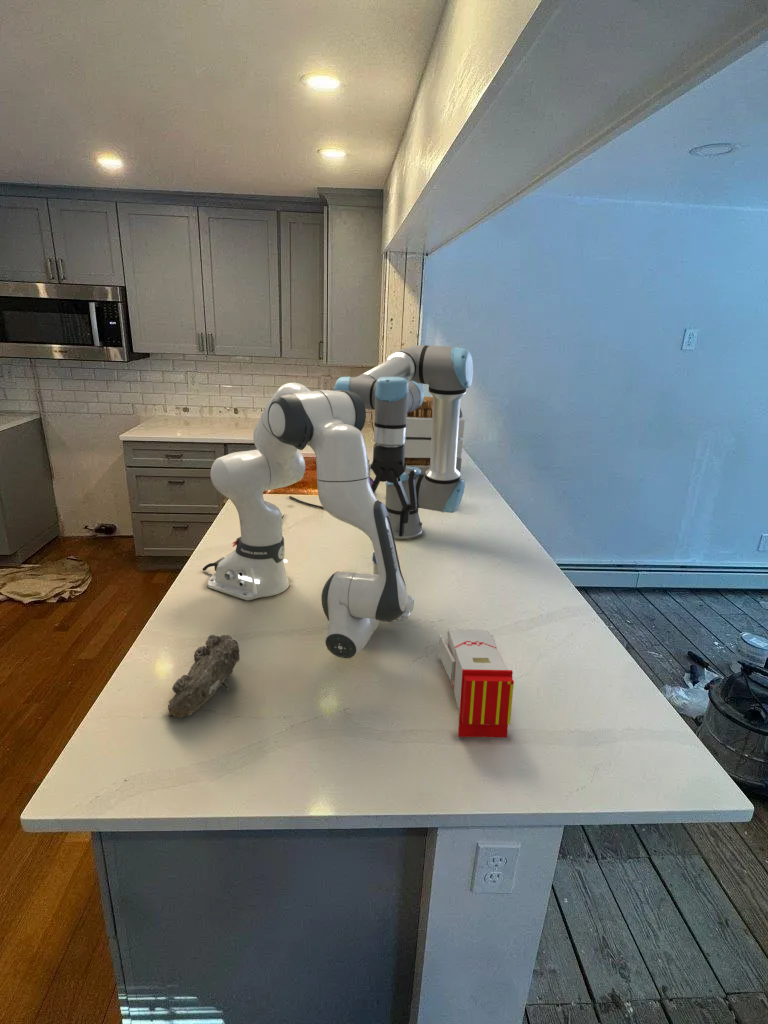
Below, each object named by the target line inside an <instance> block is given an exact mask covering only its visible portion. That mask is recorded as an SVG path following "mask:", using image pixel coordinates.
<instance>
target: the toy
mask: <svg viewBox="0 0 768 1024" xmlns="http://www.w3.org/2000/svg"><path fill="white" fill-rule="evenodd" d="M446 640H447V643H446V641H445V639H444V636H443V635H442V634H439V637H438V646H437V656H438V657H439V659H440V661H441V663H442V666H443V668H444V670H445V672H446V674H447V677H448V679H449V681H450V684H451V687H452V690H453V693H454V697H455V701H456V705H457V708H458V711H459V714H458V715H459V716H458V730H457V731H458V732H457V737H458V738H508V731H509V726H510V725H511V717H512V707H513V697H514V696H513V695H514V684H515V680H514V679H513V673H514V671H513V670H512V669H508V667H507V665H506V662H505V661H504V659H503V658H502V655H501V653H500V651H499V649H498V647H497V643H496V639H495V637H494V635H493V634H491V632H490V631H489V629H467V628H466V629H465V628H463V629H461V628H460V629H459V628H448V630H447V639H446Z"/></svg>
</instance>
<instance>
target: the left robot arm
mask: <svg viewBox="0 0 768 1024" xmlns="http://www.w3.org/2000/svg"><path fill="white" fill-rule="evenodd" d="M366 410H367V409H365V406H364V403H363V401H362V399H361V398H360V397H359V396H358V395H357V394H356V393H353V392H350V391H345V390H338V391H334V390H332V389H316V390H310V389H309V387H307V386H306V385H304V384H302V383H299V382H287V383H284V384H282V385H281V386H280V387H279V388H278V389H277V390H276V391H275V392H274V394H273V395H272V396H271V397H270V399H269V401H268V402H267V404H266V405H265V407H264V409H263V412H262V413H261V415H260V417H259V419H258V422H257V423H256V426H255V428H254V430H253V436H252V438H253V439H252V440H253V443H254V447H255V449H249V450H242V451H236V452H235V451H234V452H231V453H228V454H226V455H223V456H219V457H217V458H215V460H214V461H213V463H212V465H211V468H210V481H211V483H212V486H213V487H214V489H215V490H216V491H217V493H220V494H221V495H223V496H224V497H226V498H227V499H228V500H230V501H231V503H232V504H233V505H234V507H235V510H236V511H237V514H238V519H239V529H240V536H239V537H237V538H236V539H235V541H233V542H232V548H235V549H234V550H232V551H231V552H230V553H228V554H227V555H225V556H224V557H221V558H219V559H217V560H216V561H214V562H210V563H208V564H206V565H205V566H203V568H202V571H203V572H205V571H206V570H207V569H209V568H211V567H214V572H215V573H213V574H212V575H211V576H210V577H209V578H208V580H207V587H208V588H209V589H211V590H214V591H217V592H221V593H223V594H227V595H230V596H232V597H235V598H238V599H240V600H241V599H242V600H243V601H244V600H245V601H253V600H255V599H258V598H268V597H272V596H276V595H279V594H281V593H283V592H285V591H286V590H287V589H288V588H289V586H290V581H289V578H288V575H287V571H286V570H287V569H286V566H285V563H286V564H287V563H288V560H287V559H284V558H285V538H284V536H283V518H282V516H283V514H282V512H281V509H280V508H279V507H278V506H277V505H276V504H274V503H271V502H269V501H266V500H265V499H264V492H266V491H272V490H276V489H282V488H287V487H289V486H291V485H294V484H296V483H298V482H300V481H302V480H303V478H304V476H305V473H306V461H305V458H304V456H303V454H302V452H301V451H303V450H304V449H305V448H306V447H307V446H308V447H310V449H312V451H313V452H314V456H315V461H316V485H317V495H318V499H319V502H320V506H323V508H324V509H323V508H322V509H323V510H325V511H326V512H327V513H328V514H329V515H330V516H332V517H333V518H335V520H338V521H340V522H343V523H345V524H347V525H350V526H352V527H354V528H356V529H358V530H360V531H361V532H363V533H364V534H365V535H366V536H367V537H368V538H369V539H370V542H371V544H372V548H373V553H375V558H376V563H377V567H378V572H379V574H373V573H364V572H363V573H361V572H353V571H336V572H334V573H333V574H332V575H330V577H329V578H328V579H327V581H326V582H325V583H324V586H323V588H322V591H321V607H322V610H323V613H324V615H325V617H326V619H327V621H328V627H327V630H326V633H325V637H324V644H325V647H326V649H327V650H328V652H329V653H330V654H331V655H333V656H334V657H337V658H340V659H352V658H354V657H357V655H359V654H360V653H361V652H362V651H363V650H364V648H365V647H366V646H367V644H368V643H369V641H370V639H371V637H372V635H373V633H374V632H375V631H376V630H377V628H378V626H379V625H380V623H381V622H386V623H392V622H394V621H397V622H398V621H405V620H407V619H408V618H409V617H410V615H411V613H412V612H413V610H414V606H415V599H414V597H413V596H412V595H408V589H407V584H406V582H405V578H404V576H403V573H402V569H401V565H400V559H399V555H398V550H397V546H396V540H395V539H394V535H393V531H392V526H391V522H390V518H389V515H388V512H387V509H386V507H385V503H384V502H382V501H380V500H378V498H377V495H376V494H375V493H373V491H372V488H371V485H370V478H369V477H370V476H369V464H370V463H369V464H368V460H369V458H368V451H367V446H366V442H365V438H364V435H363V433H362V431H363V429H364V427H365V425H366V419H367V411H366ZM235 546H236V547H235Z"/></svg>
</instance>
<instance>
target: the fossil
mask: <svg viewBox="0 0 768 1024" xmlns="http://www.w3.org/2000/svg"><path fill="white" fill-rule="evenodd" d="M239 647H240V645H239V642H238V641H237V640H236V639H234V638H233V637H232V636H231V635H230V634H223V635H215V634H210V635H209V636H208V637H207V640H206V641H205V646H198V647H197V648H196V649H195V651H194V655H193V658H194V659H193V661H194V662H193V664H192V666H191V667H190V669H189V671H188V674H182V675H181V676H180V678H178V679H177V680H176V681H175V682H174V683H173V686H172V688H171V690H172V691H173V692H174V693H175V694H174V695H173V697H172V698H171V699H169V701H168V705H167V710H168V715H169V716H173V717H174V718H181V717H186V716H191V715H193V714H194V713H195V712H196V711H197V710H198V709H200V708H201V707H202V706H203V705H204V704H205V703H206V702H207V701H208V700H209V699H210V698H211V697H212V696H214V695H215V693H216V691H217V689H218V688H220V687H221V686H222V687H224V689H225V690H228V689H229V686H228V685H227V683H225V682H224V681H225V680H226V678H229V677H230V676H231V674H232V673H233V671H234V668H235V667H236V666H237V663H239V662H240V658H241V655H240V648H239Z"/></svg>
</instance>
